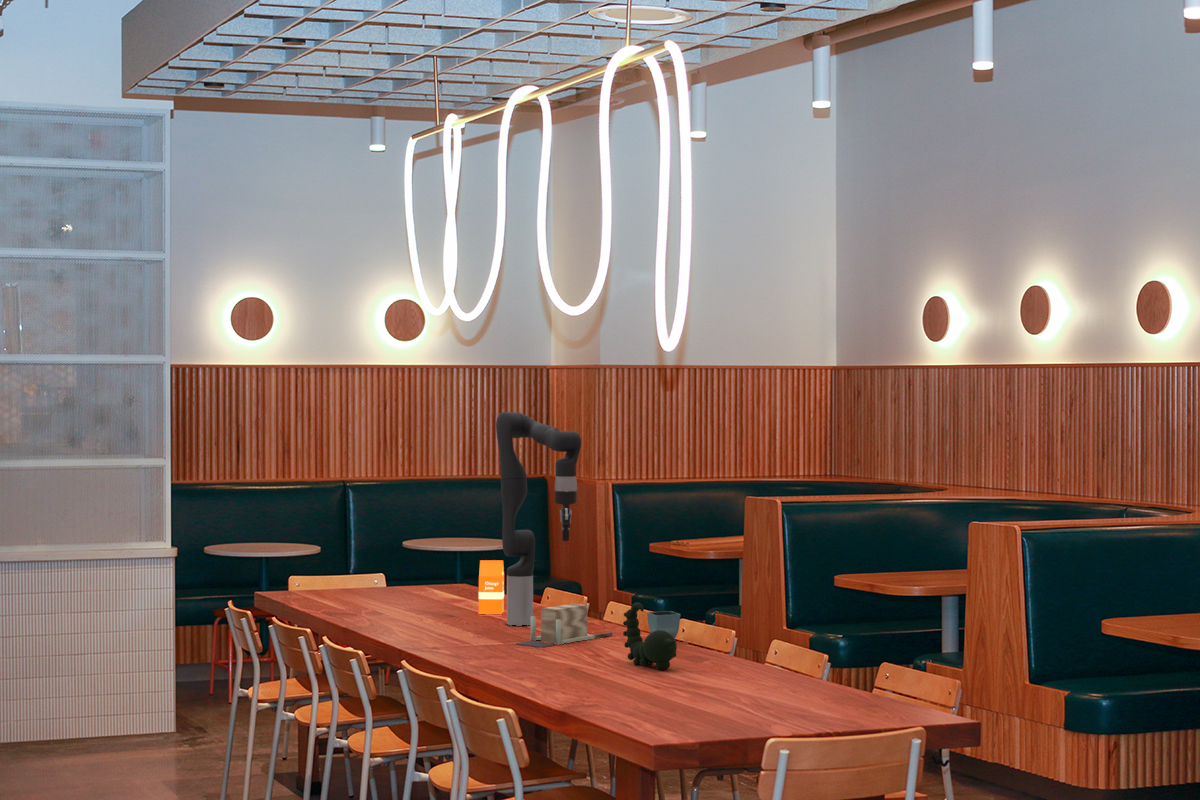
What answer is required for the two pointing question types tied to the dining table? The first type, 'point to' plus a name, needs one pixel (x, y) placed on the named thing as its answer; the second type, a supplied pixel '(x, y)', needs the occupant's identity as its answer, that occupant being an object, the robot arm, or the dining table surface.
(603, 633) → the lane
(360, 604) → the dining table surface
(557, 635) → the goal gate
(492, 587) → the orange juice
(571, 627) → the beech block
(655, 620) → the flower pot
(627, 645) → the toy figurine
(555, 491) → the robot arm
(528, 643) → the pit mat
